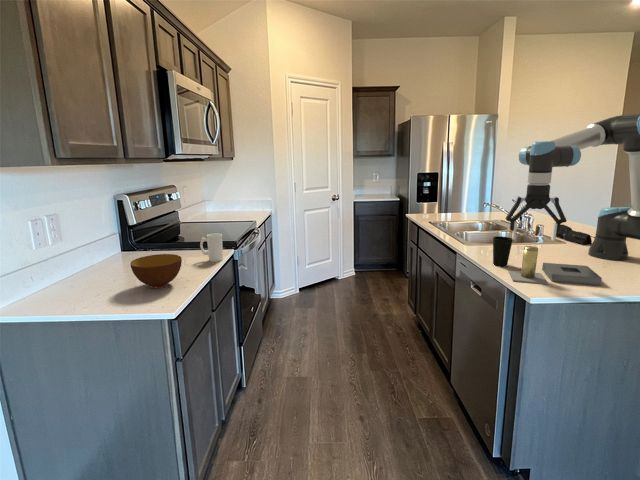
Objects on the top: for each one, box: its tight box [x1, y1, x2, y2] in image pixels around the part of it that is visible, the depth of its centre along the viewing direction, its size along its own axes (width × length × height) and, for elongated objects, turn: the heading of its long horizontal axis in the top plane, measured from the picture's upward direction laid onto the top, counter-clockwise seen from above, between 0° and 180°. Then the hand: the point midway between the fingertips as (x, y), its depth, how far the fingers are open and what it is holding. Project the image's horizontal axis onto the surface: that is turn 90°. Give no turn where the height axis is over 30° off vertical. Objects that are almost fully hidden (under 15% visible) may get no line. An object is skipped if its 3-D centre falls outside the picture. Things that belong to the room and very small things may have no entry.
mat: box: [508, 270, 549, 285], centre depth 152 cm, size 12×12×1 cm
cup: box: [492, 235, 514, 268], centre depth 168 cm, size 8×8×12 cm
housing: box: [541, 262, 603, 286], centre depth 152 cm, size 16×16×3 cm
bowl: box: [129, 253, 183, 289], centre depth 145 cm, size 18×18×10 cm
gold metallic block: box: [520, 245, 539, 279], centre depth 151 cm, size 5×5×12 cm
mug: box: [199, 232, 224, 263], centre depth 178 cm, size 10×7×12 cm, turn 98°
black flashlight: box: [556, 223, 595, 246], centre depth 212 cm, size 7×25×8 cm, turn 12°
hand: (533, 239), depth 149 cm, fingers open, 13 cm apart
